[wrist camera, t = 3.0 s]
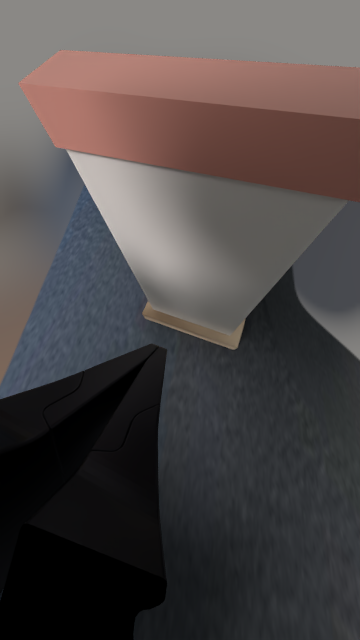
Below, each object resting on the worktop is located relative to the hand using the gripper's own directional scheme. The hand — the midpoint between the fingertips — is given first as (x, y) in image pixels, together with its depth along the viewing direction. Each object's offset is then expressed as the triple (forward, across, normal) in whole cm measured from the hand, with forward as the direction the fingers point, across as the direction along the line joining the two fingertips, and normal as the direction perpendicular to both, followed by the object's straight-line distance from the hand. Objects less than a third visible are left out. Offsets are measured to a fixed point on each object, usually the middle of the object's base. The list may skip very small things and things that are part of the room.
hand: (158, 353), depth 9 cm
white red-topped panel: (+9, 0, +2) cm, 9 cm away
